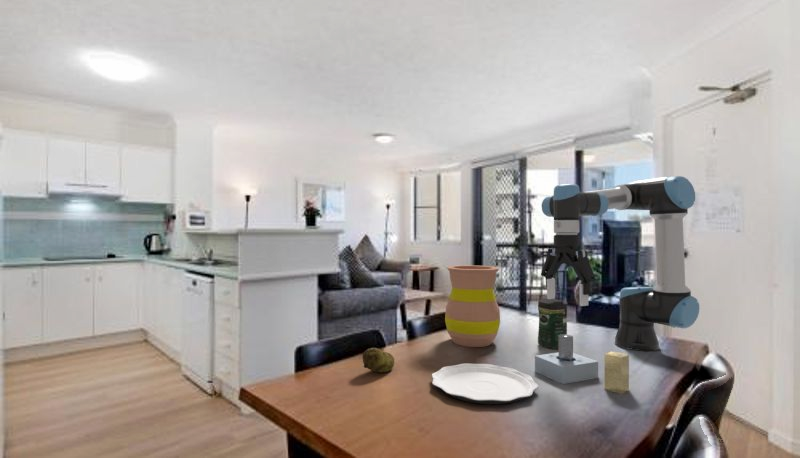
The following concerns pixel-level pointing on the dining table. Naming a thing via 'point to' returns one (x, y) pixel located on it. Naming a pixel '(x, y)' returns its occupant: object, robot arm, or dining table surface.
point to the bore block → (566, 368)
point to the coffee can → (565, 318)
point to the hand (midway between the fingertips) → (566, 302)
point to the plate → (484, 383)
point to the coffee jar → (550, 322)
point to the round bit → (565, 347)
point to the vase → (472, 306)
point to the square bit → (617, 372)
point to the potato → (378, 360)
